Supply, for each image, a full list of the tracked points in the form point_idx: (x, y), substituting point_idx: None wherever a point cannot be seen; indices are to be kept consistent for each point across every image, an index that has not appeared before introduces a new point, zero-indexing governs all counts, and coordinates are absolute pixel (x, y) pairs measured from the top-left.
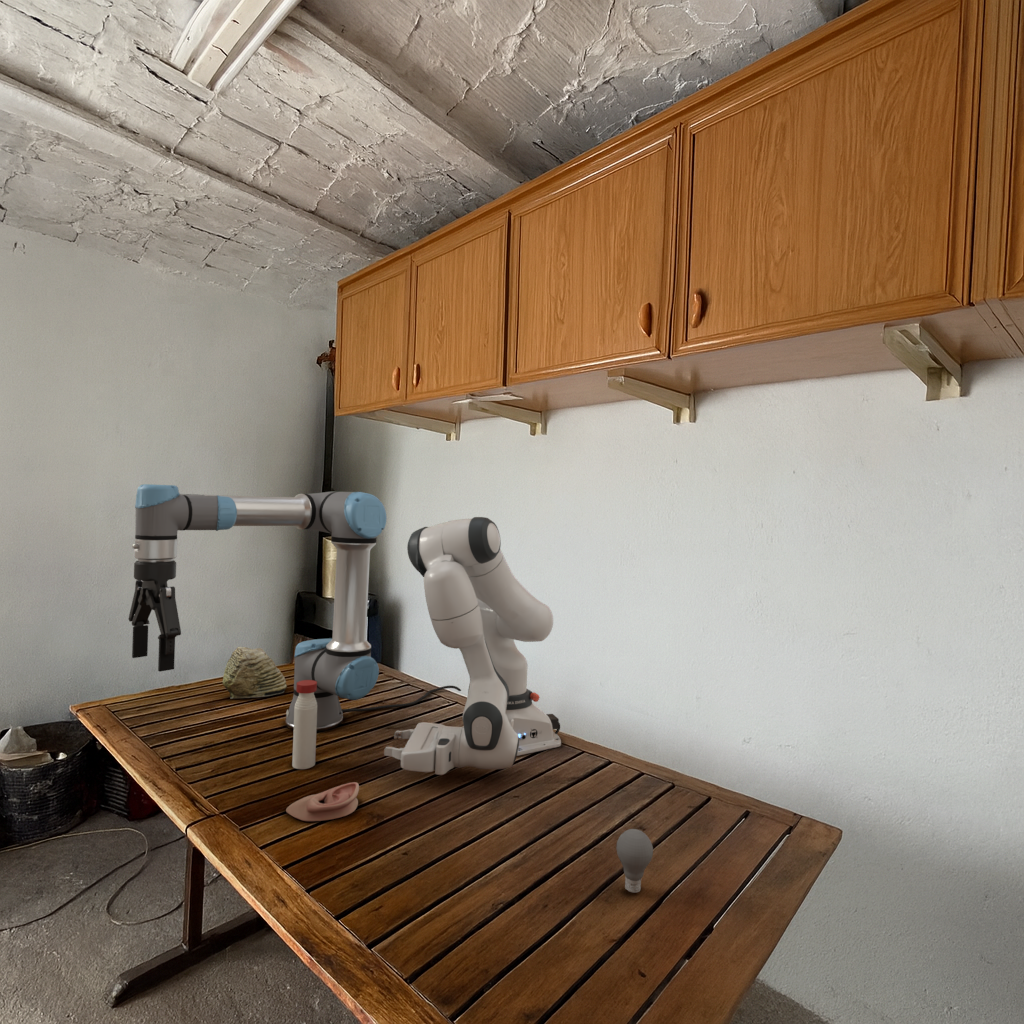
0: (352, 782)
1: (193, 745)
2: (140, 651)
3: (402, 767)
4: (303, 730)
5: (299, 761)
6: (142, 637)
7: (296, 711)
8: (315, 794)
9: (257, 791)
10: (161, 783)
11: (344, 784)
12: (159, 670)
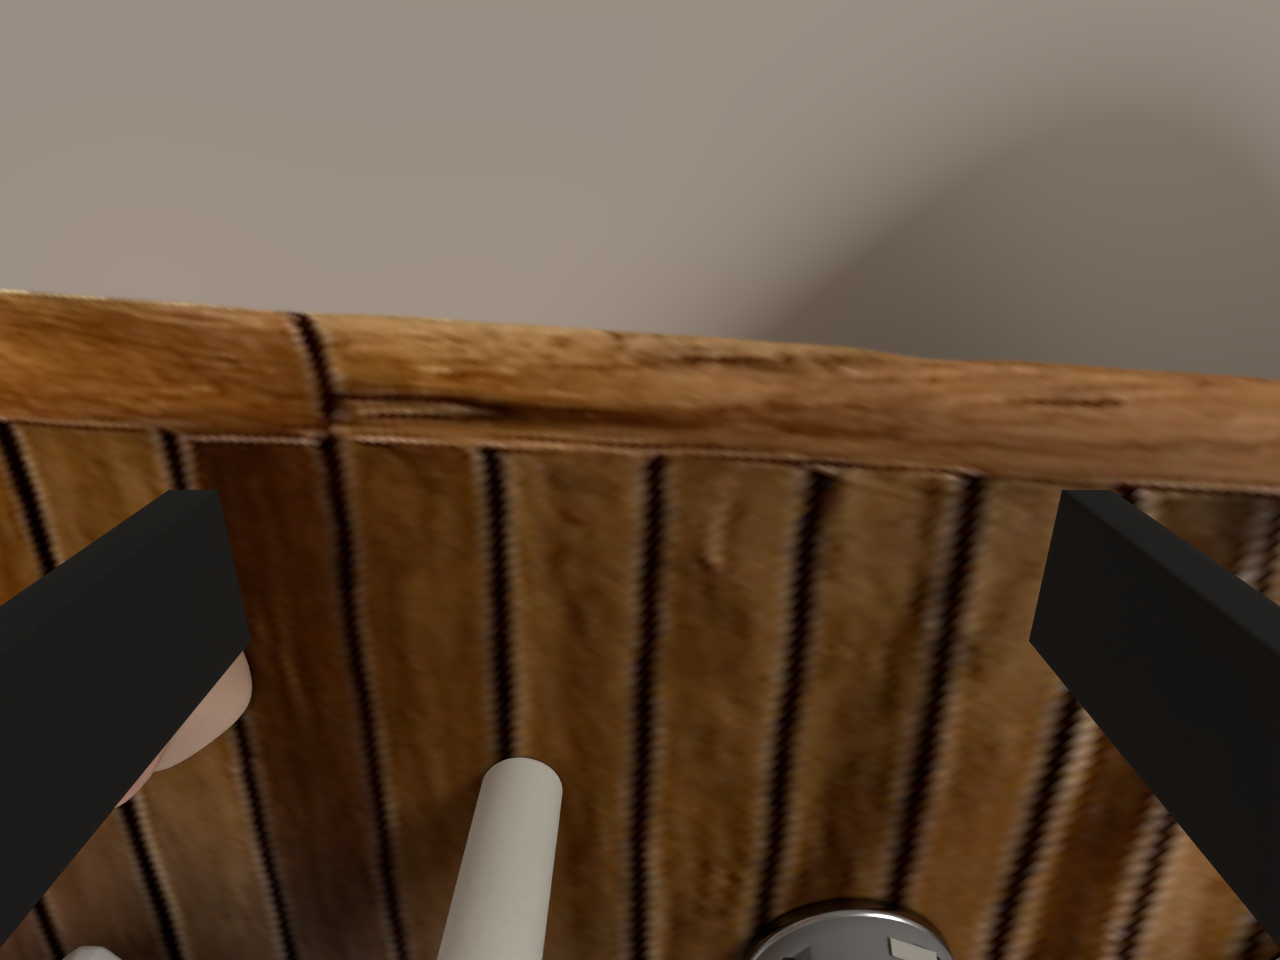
0: (118, 803)
1: (1003, 611)
2: (1086, 607)
3: (89, 947)
4: (457, 892)
5: (490, 784)
6: (1222, 769)
7: (475, 956)
8: (221, 701)
9: (418, 595)
10: (734, 382)
11: (136, 782)
12: (168, 495)
